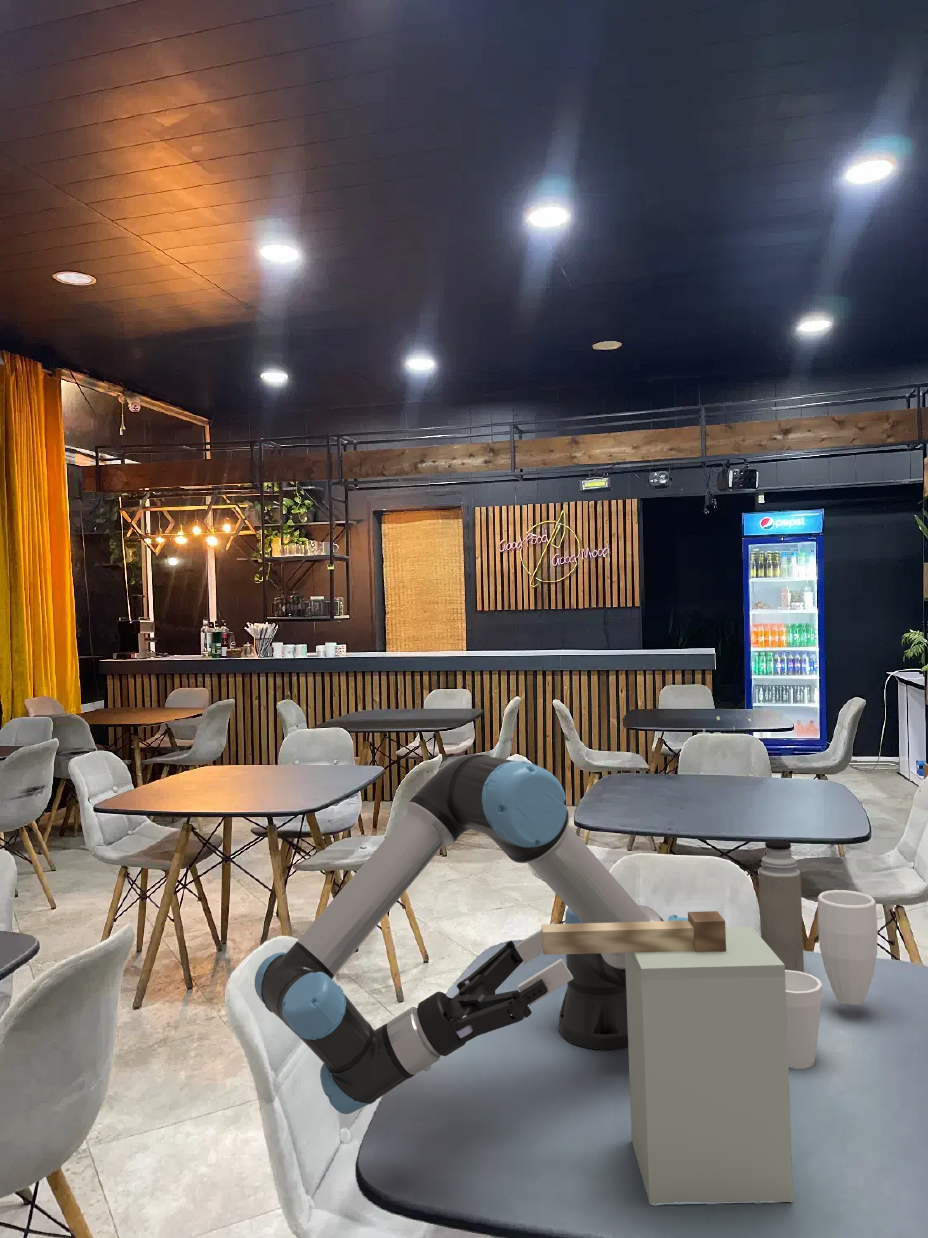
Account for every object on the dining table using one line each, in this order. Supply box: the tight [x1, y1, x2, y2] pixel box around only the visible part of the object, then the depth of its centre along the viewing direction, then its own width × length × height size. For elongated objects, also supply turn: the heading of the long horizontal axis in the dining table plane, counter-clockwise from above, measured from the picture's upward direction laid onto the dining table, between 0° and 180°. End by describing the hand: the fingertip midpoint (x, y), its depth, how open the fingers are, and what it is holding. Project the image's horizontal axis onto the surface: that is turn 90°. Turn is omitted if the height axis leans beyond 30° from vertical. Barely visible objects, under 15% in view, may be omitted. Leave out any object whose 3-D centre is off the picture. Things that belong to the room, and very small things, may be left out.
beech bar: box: [541, 910, 726, 956], centre depth 120 cm, size 24×4×4 cm, turn 89°
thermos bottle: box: [757, 839, 805, 973], centre depth 179 cm, size 8×8×28 cm
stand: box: [625, 926, 794, 1205], centre depth 120 cm, size 18×14×30 cm
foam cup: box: [785, 970, 824, 1070], centre depth 148 cm, size 10×9×13 cm
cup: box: [817, 889, 879, 1006], centre depth 163 cm, size 10×10×22 cm
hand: (563, 948), depth 120 cm, fingers open, 13 cm apart
